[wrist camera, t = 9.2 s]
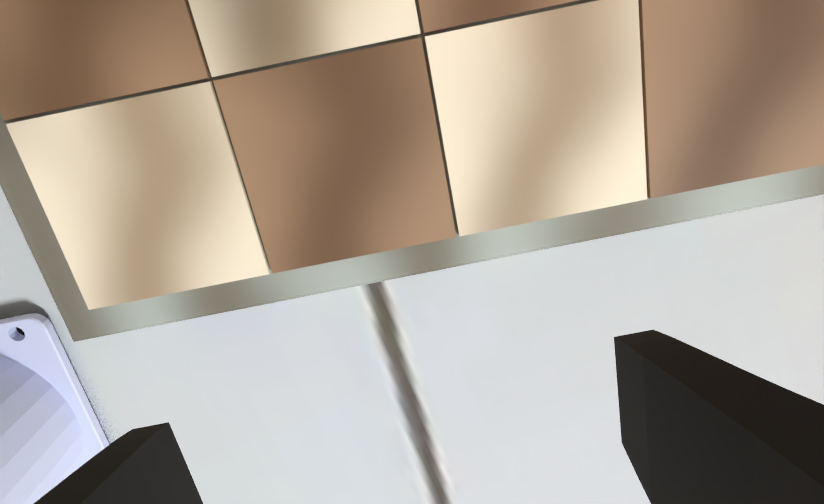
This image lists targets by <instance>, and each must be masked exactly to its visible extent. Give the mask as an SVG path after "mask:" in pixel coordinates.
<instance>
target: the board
mask: <svg viewBox="0 0 824 504" xmlns="http://www.w3.org/2000/svg"><path fill="white" fill-rule="evenodd" d="M0 185H1V187H2V189H3V192H4V194H5V196H6V198H7V200H8V202H9V204H10V207H11V209H12V211H13V213H14V215H15V217H16V219H17V222H18V224H19V226H20V228H21V230H22V232H23V234H24V236H25V239H26V241H27V243H28V245H29V247H30V249H31V251H32V254H33V256H34V258H35V260H36V262H37V264H38V266H39V268H40V271H41V273H42V275H43V277H44V279H45V281H46V283H47V286H48V288H49V290H50V292H51V294H52V296H53V298H54V300H55V303H56V305H57V307H58V309H59V311H60V313H61V315H62V318H63V320H64V322H65V324H66V326H67V328H68V330H69V333H70V335H71V337H72V339H73V341H74V342H75V341H80V340H85V339H90V338H95V337H100V336H105V335H110V334H116V333H121V332H126V331H131V330H136V329H141V328H146V327H151V326H156V325H161V324H166V323H172V322H177V321H182V320H187V319H192V318H197V317H202V316H207V315H212V314H217V313H222V312H227V311H233V310H238V309H243V308H248V307H253V306H258V305H263V304H268V303H273V302H278V301H283V300H288V299H294V298H299V297H304V296H309V295H314V294H319V293H324V292H329V291H334V290H339V289H344V288H349V287H355V286H360V285H365V284H370V283H375V282H380V281H385V280H390V279H395V278H400V277H405V276H410V275H416V274H421V273H426V272H431V271H436V270H441V269H446V268H451V267H456V266H461V265H466V264H471V263H477V262H482V261H487V260H492V259H497V258H502V257H507V256H512V255H517V254H522V253H527V252H532V251H538V250H543V249H548V248H553V247H558V246H563V245H568V244H573V243H578V242H583V241H588V240H593V239H599V238H604V237H609V236H614V235H619V234H624V233H629V232H634V231H639V230H644V229H649V228H654V227H660V226H665V225H670V224H675V223H680V222H685V221H690V220H695V219H700V218H705V217H710V216H715V215H721V214H726V213H731V212H736V211H741V210H746V209H751V208H756V207H761V206H766V205H771V204H776V203H782V202H787V201H792V200H797V199H802V198H807V197H812V196H817V195H822V194H824V0H0Z"/></svg>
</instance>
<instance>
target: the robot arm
mask: <svg viewBox="0 0 824 504" xmlns="http://www.w3.org/2000/svg"><path fill="white" fill-rule="evenodd" d="M16 327H18V328H20V329H22V330H23V332H24V333H25V335H22V334H20V333H19V332H18V331H17V329H16ZM614 343H615V356H616V370H617V383H618V397H619V410H620V423H621V437H622V444H623V446H624V448H625V450H626V452H627V455H628V457H629V459H630V461H631V463H632V465H633V467H634V470H635V472H636V474H637V476H638V478H639V480H640V482H641V484H642V486H643V488H644V490H645V492H646V494H647V496H648V498H649V500H650V502H651V504H824V405H823V404H821V403H818V402H816V401H813V400H811V399H809V398H806V397H804V396H801V395H799V394H797V393H794V392H792V391H790V390H788V389H785V388H783V387H781V386H778V385H776V384H774V383H772V382H769V381H767V380H765V379H763V378H760V377H758V376H756V375H754V374H751V373H749V372H747V371H745V370H743V369H740V368H738V367H736V366H734V365H732V364H729V363H727V362H725V361H723V360H721V359H719V358H716V357H714V356H712V355H710V354H708V353H706V352H703V351H701V350H699V349H697V348H695V347H692V346H690V345H688V344H686V343H684V342H681V341H679V340H677V339H675V338H672V337H670V336H668V335H665V334H663V333H660V332H658V331H655V330H649V331H644V332H639V333H633V334H628V335H623V336H618V337H614ZM0 504H203V502H202V500H201V497H200V495H199V493H198V490H197V488H196V486H195V483H194V481H193V479H192V476H191V474H190V471H189V469H188V467H187V464H186V462H185V460H184V457H183V455H182V453H181V450H180V448H179V446H178V443H177V441H176V438H175V436H174V434H173V431H172V429H171V427H170V424H169V423H163V424H158V425H153V426H148V427H142V428H137V429H132V430H131V431H129V432H127V433H126V434H124V435H123V436H121V437H120V438H118V439H117V440H115V441H114V442H113V443H111V444H110V445H109V442H108V440H107V438H106V436H105V434H104V432H103V430H102V428H101V426H100V424H99V422H98V419H97V417H96V415H95V413H94V411H93V409H92V407H91V405H90V403H89V401H88V399H87V396H86V394H85V392H84V390H83V388H82V386H81V384H80V382H79V380H78V378H77V376H76V373H75V371H74V369H73V367H72V365H71V363H70V361H69V359H68V357H67V355H66V353H65V350H64V348H63V346H62V344H61V342H60V340H59V338H58V336H57V334H56V332H55V330H54V327H53V325H52V323H51V322H50V321H49V319H48V318H46V317H45V316H43V315H41V314H38V313H31V314H26V315H21V316H16V317H11V318H6V319H1V320H0Z"/></svg>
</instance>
